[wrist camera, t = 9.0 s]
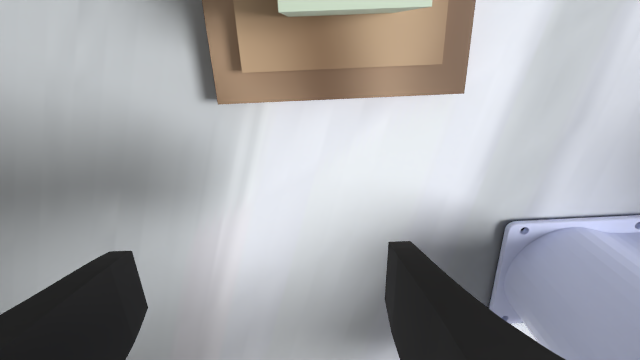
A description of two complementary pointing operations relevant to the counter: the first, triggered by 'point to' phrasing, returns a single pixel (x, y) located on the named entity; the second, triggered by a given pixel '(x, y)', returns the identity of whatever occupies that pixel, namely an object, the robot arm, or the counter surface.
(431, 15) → the walnut base
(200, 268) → the counter surface
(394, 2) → the sage block
